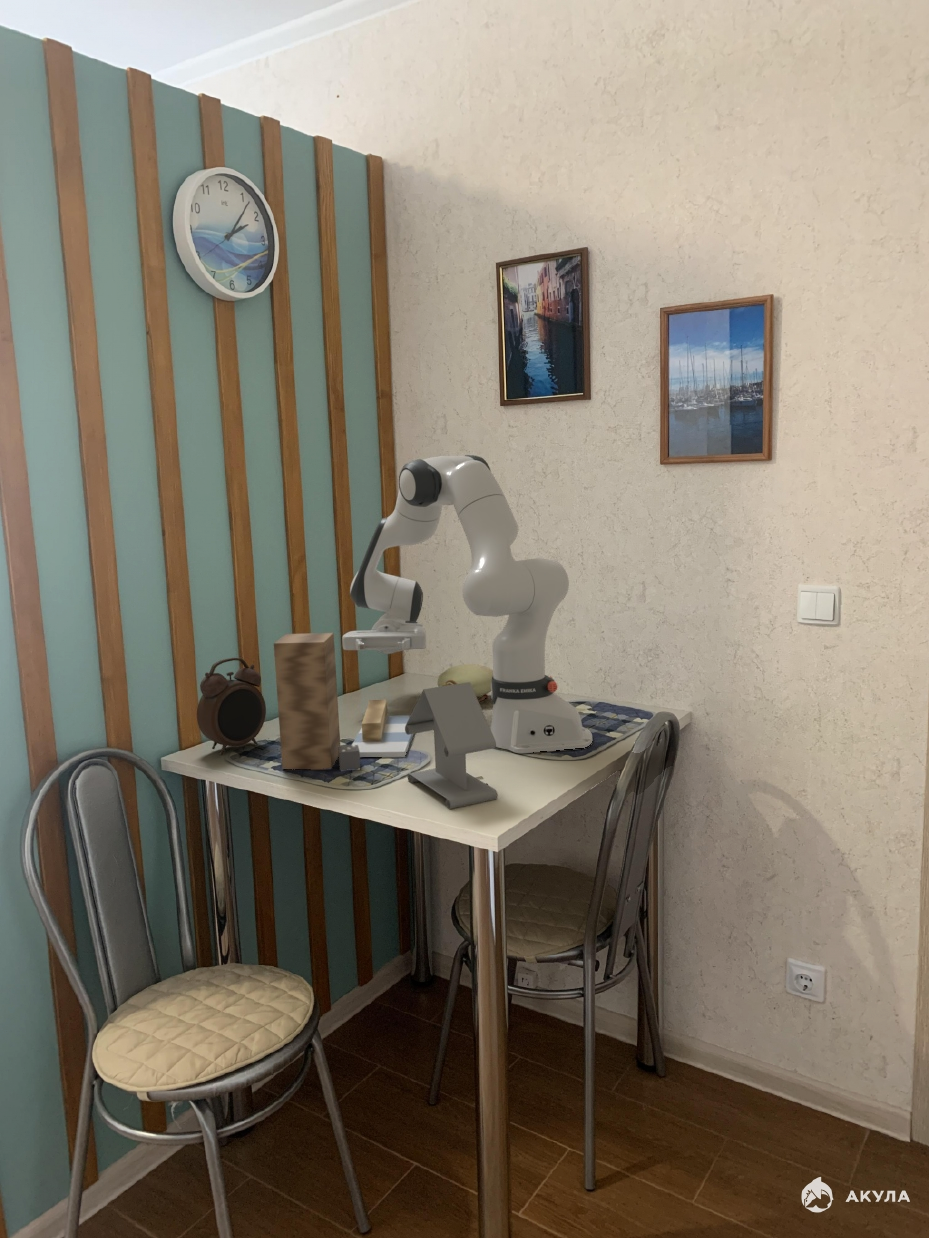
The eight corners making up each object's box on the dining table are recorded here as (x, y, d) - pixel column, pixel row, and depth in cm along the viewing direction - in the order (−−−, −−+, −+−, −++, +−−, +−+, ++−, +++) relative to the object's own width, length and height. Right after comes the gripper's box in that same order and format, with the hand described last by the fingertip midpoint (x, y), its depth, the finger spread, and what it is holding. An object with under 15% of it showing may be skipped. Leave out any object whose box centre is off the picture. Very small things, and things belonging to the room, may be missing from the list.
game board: (418, 720, 222) (418, 715, 222) (405, 757, 195) (404, 751, 195) (368, 720, 223) (368, 716, 223) (347, 758, 196) (347, 752, 195)
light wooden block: (387, 715, 223) (386, 699, 222) (381, 740, 203) (380, 722, 202) (370, 716, 222) (369, 700, 222) (362, 741, 203) (361, 723, 202)
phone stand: (497, 800, 169) (494, 691, 165) (450, 810, 164) (446, 699, 161) (451, 772, 185) (447, 672, 181) (407, 781, 180) (402, 679, 177)
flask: (510, 696, 241) (472, 716, 226) (458, 690, 250) (419, 709, 235) (508, 661, 239) (470, 679, 224) (456, 656, 248) (416, 673, 233)
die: (358, 763, 192) (357, 743, 191) (360, 770, 188) (359, 749, 187) (339, 765, 191) (338, 745, 191) (340, 771, 187) (339, 751, 187)
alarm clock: (216, 760, 197) (208, 667, 194) (197, 753, 202) (189, 663, 199) (273, 743, 208) (267, 654, 205) (254, 737, 213) (247, 651, 209)
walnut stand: (340, 753, 199) (333, 632, 194) (331, 769, 189) (323, 642, 185) (294, 754, 199) (285, 634, 195) (282, 769, 190) (273, 643, 185)
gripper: (346, 623, 234) (336, 634, 220) (428, 622, 233) (423, 632, 219) (347, 648, 235) (337, 660, 221) (429, 647, 234) (424, 659, 220)
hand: (380, 646), depth 220 cm, fingers open, 8 cm apart
